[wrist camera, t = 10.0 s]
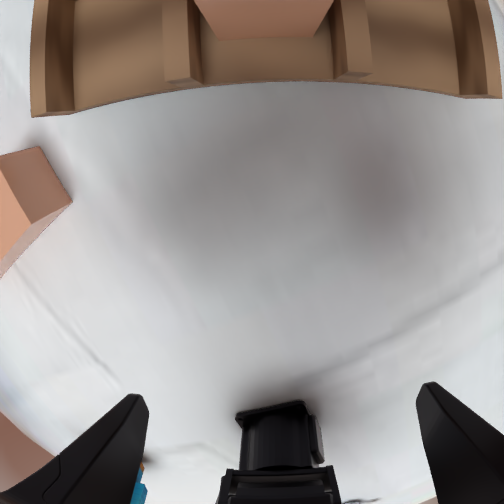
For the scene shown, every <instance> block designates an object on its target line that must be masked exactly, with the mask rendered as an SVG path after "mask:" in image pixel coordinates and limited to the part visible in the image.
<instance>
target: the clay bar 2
mask: <svg viewBox="0 0 504 504" xmlns="http://www.w3.org/2000/svg"><path fill="white" fill-rule="evenodd" d="M333 1H334V0H194V2H195V3H196V5H197V6H198V8H199V9H200V11H201V13H202V14H203V16H204V17H205V19H206V21H207V22H208V24H209V25H210V27H211V29H212V30H213V32H214V34H215V35H216V37H217V39H218V40H219V41H224V40H235V39H248V38H266V37H313V36H314V34H315V32H316V30H317V29H318V27H319V25H320V23H321V22H322V20H323V18H324V17H325V15H326V13H327V11H328V10H329V8H330V6H331V4H332V3H333Z"/></svg>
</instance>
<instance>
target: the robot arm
mask: <svg viewBox="0 0 504 504" xmlns="http://www.w3.org/2000/svg"><path fill="white" fill-rule="evenodd" d="M416 409H417V414H418V419H419V424H420V430H421V436H422V441H423V445H424V449H425V453H426V456H427V460H428V464H429V467H430V471H431V475H432V479H433V483H434V487H435V491H436V495H437V499H438V503H439V504H504V435H503V434H502V433H500V432H499V431H498V430H497V429H495V428H494V427H493V426H492V425H490V424H489V423H488V422H486V421H485V420H484V419H483V418H481V417H480V416H479V415H477V414H476V413H475V412H474V411H472V410H471V409H470V408H468V407H467V406H466V405H465V404H463V403H462V402H461V401H459V400H458V399H457V398H456V397H454V396H453V395H452V394H450V393H449V392H448V391H447V390H445V389H444V388H443V387H441V386H440V385H439V384H438V383H436V382H428V383H424V384H423V385H422V387H421V389H420V392H419V394H418V397H417V399H416ZM148 419H149V410H148V408H147V406H146V403H145V401H144V399H143V397H142V396H141V395H140V394H128V395H127V396H126V397H125V398H123V399H122V400H121V401H120V402H119V403H118V404H117V405H115V406H114V407H113V408H112V409H111V410H110V411H109V412H107V413H106V414H105V415H104V416H103V417H102V418H100V419H99V420H98V421H97V422H96V423H95V424H93V425H92V426H91V427H90V428H89V429H88V430H87V431H85V432H84V433H83V434H82V435H81V436H79V437H78V438H77V439H76V440H75V441H74V442H72V443H71V444H70V445H69V446H68V447H67V448H65V449H64V450H63V451H62V452H61V453H60V455H57V456H56V457H55V458H54V459H52V460H51V461H50V462H49V463H47V464H46V465H45V466H43V467H42V468H41V469H39V470H38V471H36V472H35V473H33V474H32V475H30V476H29V477H27V478H26V479H24V480H23V481H21V482H19V483H18V484H16V485H15V486H13V487H11V488H10V489H8V490H6V491H4V492H0V504H130V503H131V499H132V495H133V491H134V487H135V483H136V480H137V476H138V472H139V468H140V465H141V461H142V457H143V452H144V446H145V439H146V432H147V426H148ZM235 420H236V422H237V423H238V424H239V425H240V427H241V428H242V438H241V450H240V462H239V470H234V469H227V470H226V475H225V476H223V477H222V478H221V486H220V492H219V495H218V498H217V501H216V503H215V504H341V498H340V494H339V490H338V485H337V481H336V477H335V473H334V469H333V465H330V466H326V467H319V464H322V463H323V462H324V461H325V460H324V452H323V443H322V435H321V428H320V426H319V424H318V422H317V419H316V417H315V416H314V415H310V413H309V411H308V408H307V406H306V404H305V402H304V401H301V400H299V401H294V402H290V403H286V404H282V405H277V406H273V407H268V408H263V409H259V410H253V411H248V412H243V413H238V414H236V416H235Z"/></svg>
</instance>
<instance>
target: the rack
mask: <svg viewBox="0 0 504 504" xmlns="http://www.w3.org/2000/svg"><path fill="white" fill-rule="evenodd" d="M285 81H318V82H345V83H361V84H373V85H384V86H393V87H401V88H408V89H415V90H422V91H428V92H434V93H440V94H445V95H450V96H455V97H460V98H465V99H476V98H491V99H502V85H501V74H500V64H499V56H498V49H497V42H496V36H495V31H494V25H493V20H492V15H491V11H490V7H489V2H488V0H334V1H333V3H332V4H331V6H330V8H329V10H328V11H327V13H326V15H325V17H324V18H323V20H322V22H321V23H320V25H319V27H318V29H317V30H316V32H315V34H314V36H313V37H266V38H248V39H235V40H224V41H219V40H218V39H217V37H216V35H215V34H214V32H213V30H212V29H211V27H210V25H209V24H208V22H207V21H206V19H205V17H204V16H203V14H202V13H201V11H200V9H199V8H198V6H197V5H196V3H195V2H194V0H34V8H33V18H32V29H31V44H30V102H31V118H34V117H45V116H58V115H70V114H74V113H77V112H81V111H84V110H88V109H91V108H95V107H99V106H103V105H107V104H111V103H116V102H120V101H124V100H129V99H134V98H139V97H144V96H149V95H154V94H160V93H166V92H172V91H178V90H185V89H193V88H201V87H209V86H218V85H229V84H242V83H258V82H285Z"/></svg>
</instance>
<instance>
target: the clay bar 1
mask: <svg viewBox="0 0 504 504" xmlns="http://www.w3.org/2000/svg"><path fill="white" fill-rule="evenodd" d="M71 203H72V200H71V199H70V197H69V195H68V194H67V192H66V191H65V189H64V187H63V186H62V184H61V182H60V181H59V179H58V177H57V176H56V174H55V172H54V171H53V169H52V167H51V166H50V164H49V162H48V160H47V159H46V157H45V155H44V153H43V151H42V150H41V148H40V146H38V147H34V148H29V149H25V150H21V151H17V152H13V153H9V154H5V155H1V156H0V279H1V278H2V276H3V275H4V274H5V273H6V272H7V270H8V269H9V268H10V267H11V266H12V265H13V263H14V262H15V261H16V260H17V259H18V258H19V257H20V255H21V254H22V253H23V252H24V251H25V250H26V249H27V248H28V247H29V245H30V244H31V243H32V242H33V241H34V240H35V239H36V238H37V237H38V236H39V235H40V234H41V233H42V232H43V231H44V230H45V229H46V228H47V227H48V226H49V225H50V224H51V223H52V222H53V221H54V220H55V219H56V218H57V217H58V216H59V215H60V214H61V213H62V212H63V211H64V210H65V209H66V208H67V207H68V206H69V205H70V204H71Z"/></svg>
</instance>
